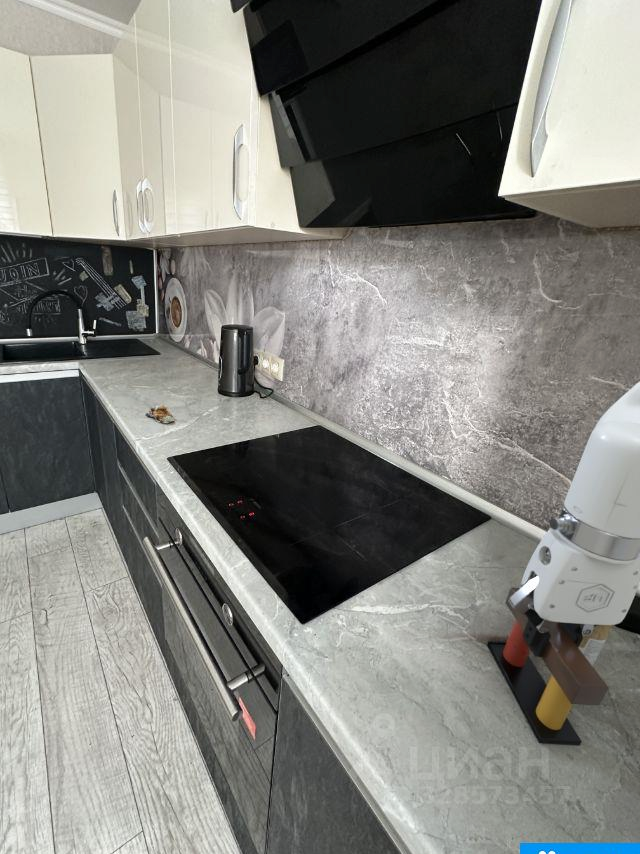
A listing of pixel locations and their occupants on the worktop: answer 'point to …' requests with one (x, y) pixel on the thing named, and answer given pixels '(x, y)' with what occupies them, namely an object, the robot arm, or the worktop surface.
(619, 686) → the worktop surface
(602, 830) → the worktop surface
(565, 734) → the rod stand
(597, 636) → the sprinkles bottle
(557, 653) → the walnut bar
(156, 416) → the brown grey rock
